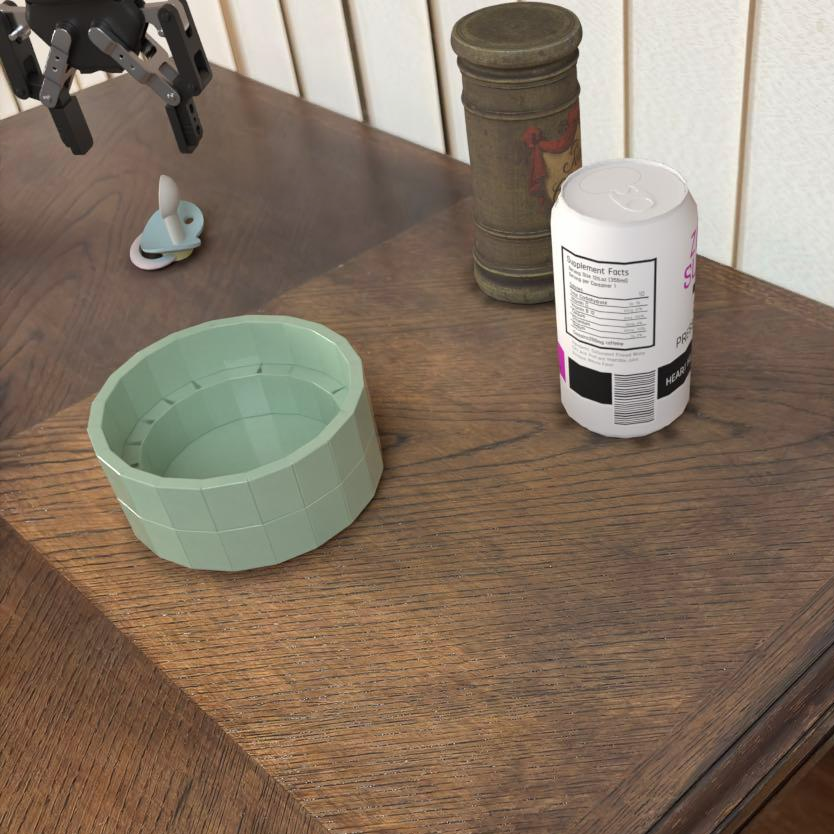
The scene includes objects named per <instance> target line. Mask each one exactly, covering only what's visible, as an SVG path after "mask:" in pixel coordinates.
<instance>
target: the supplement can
mask: <svg viewBox="0 0 834 834" xmlns="http://www.w3.org/2000/svg"><path fill="white" fill-rule="evenodd" d="M688 187H689V186H688V180H687V179H686V177H684V176H683V174H682V173H681V172H680V171H679V170H678V169H676V168H674V167H672V166H670V165H667V164H666V163H664V162H660V161H656V160H651V159H648V158H636V157H635V158H634V157H617V158H611V159H602V160H599V161H596V162H593V163H588V164H586V165H582V167H581V168H580V169H578V170H576V171H575V172H573V173H571V174H570V175H569V176H568V177H567V178H566V180H565V181H564V182H563V184H562V185H561V192H560V194H559V196H558V198H557V200H556V202H555V204H554V206H553V208H552V213H551V236H552V252H553V269H554V285H555V300H554V303H555V315H556V316H555V317H556V318H555V319H556V331H557V333H556V334H557V351H558V364H559V366H558V369H559V382H560V383H559V384H560V399H561V404H562V406H563V408H564V409H565V412H566V413H567V416H569V417H570V418H571V419H573V420H574V421H575V422H576V423H577V424H579V425H580V426H581V427H583V428H586V429H587V430H588V431H591V432H592V433H596V434H599V435H601V436H603V437H609V438H620V439H630V438H636V437H637V438H638V437H644V436H647V435H650V434H653V433H655V432H658V431H661V430H662V429H663V428H666V427H667V426H669V425H670V424H671V423H673V422H674V421H676V419H677V418H678V417H680V416H682V414H683V413H684V411H685V409H686V407H687V405H688V403H689V401H690V391H691V373H692V372H691V370H692V354H693V353H692V352H693V333H694V332H693V331H694V310H695V293H696V291H695V289H696V275H697V273H696V272H697V271H696V270H697V255H698V254H697V251H698V232H699V211H698V205H697V202H696V201H695V198H694V197H693V195H692V193H691V191H690V190H689V188H688Z"/></svg>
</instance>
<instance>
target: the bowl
mask: <svg viewBox="0 0 834 834" xmlns="http://www.w3.org/2000/svg"><path fill="white" fill-rule="evenodd" d="M89 411H90V412H89V417H88V424H87V429H86V431H87V435H88V437H89V440H90V443H91V445H92V448H93V450H94V453H95V456H96V458H97V460H98V462H99V465H100V466H101V468H102V470H103V473H104V474H105V476H106V479H107V481H108V482H109V484H110V486H111V489H112V491H113V493H114V495H115V497H116V499H117V501H118V503H119V505H120V507H121V509H122V511H123V513H124V515H125V517H126V519H127V521H128V523H129V525H130V528H131V530H132V531H133V534H134V536H135V537H136V538H137V539H138V540H139V541H140V542H141V543H142V544H144V545H145V546H146V547H147V548H148V549H149V550H150V551H151V552H153V553H154V554H155V555H156V556H157V557H159V558H161V559H163V560H166V561H168V562H171V563H174V564H176V565H180V566H182V567H184V568H188V569H191V570H201V571H216V572H217V571H219V572H233V573H234V572H240V571H246V570H253V569H258V568H265V567H269V566H275V565H276V566H277V565H279V564H282V563H285V562H286V561H289V560H291V559H295V558H297V557H299V556H301V555H304V554H306V553H308V552H311V551H314V550H317V549H318V548H320V547H321V546H322V545H324V544H325V543H327V542H328V541H329V540H331V539H333V538H334V537H335V536H336V535H338V534H339V533H341V532H342V531H343V530H345V529H346V528H348V527H349V526H351V524H353V523H354V522H355V521H356V519H357V518H358V517H359V515H360V514H361V512H363V510H365V508H366V507H367V506H368V504H369V503H370V502H371V501H372V500H373V498H374V496H375V494H376V491H377V488H378V485H379V483H380V480H381V477H382V475H383V471H384V461H383V460H384V459H383V452H382V451H383V450H382V444H381V443H382V442H381V439H380V434H379V430H378V429H379V428H378V426H377V421H376V417H375V412H374V408H373V404H372V398H371V395H370V390H369V386H368V381H367V377H366V373H365V368H364V363H363V361H362V358H361V357H360V356H359V354H358V353H357V351H356V350H355V348H354V347H353V346H352V345H351V343H350V341H349V340H348V339H347V338H346V337H344V336H342V335H341V334H339V333H338V332H335V331H334V330H332V329H331V328H329V327H327V326H326V325H324V324H322V323H319V322H316V321H311V320H307V319H304V318H300V317H295V316H291V315H283V314H282V315H281V314H280V315H279V314H276V315H275V314H245V315H237V316H230V317H225V318H218V319H212V320H208V321H206V322H202V323H199V324H196V325H193V326H190V327H187V328H185V329H181V330H178V331H175V332H171V333H170V334H168V335H167V336H165V337H163V338H161V339H159V340H157V341H155V342H154V343H152V344H150V345H147V347H144V348H142V349H141V350H139V351H137V352H136V353H134V355H132V356H131V357H130V358H128V359H127V360H126V361H125V362H124V363H123V364H122V365H120V366H119V367H118V368H117V369H116V370H115V371H114V372H112V373H111V374H110V375H109V377H108V378H107V379H106V380H105V383H104V384H103V385H102V387H101V389H100V390H99V392H98V393H97V395H96V396H95V398H94V399H93V401H92V403H91V405H90V410H89Z"/></svg>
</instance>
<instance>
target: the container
mask: <svg viewBox="0 0 834 834" xmlns="http://www.w3.org/2000/svg"><path fill="white" fill-rule="evenodd" d="M583 32H584V31H583V26H582V23H581V20H580V18H579V17H578V15H577V14H576V13H574V12H573V11H572V10H570V9H569V8H567V7H564V6H560V5H558V4H554V3H549V2H542V1H511V2H504V3H498V4H493V5H488V6H485V7H482V8H479V9H476V10H474V11H471V12H469V13H467V14H466V15H463V16H462V17H460V18H459V19H458V20H457V21H456V22H455V23H454V25H453V26H452V29H451V31H450V46H451V49H452V51H453V53H454V54H455V55H456V56H457V57H456V65H457V67H458V69H459V73H460V74H461V84H462V89H461V95H460V101H461V104H462V106H463V112H464V113H463V115H464V123H465V130H466V131H465V132H466V142H467V150H468V157H469V166H470V174H471V175H470V176H471V184H472V185H471V186H472V198H473V205H472V219H473V223H474V227H475V228H474V229H475V235H476V236H475V237H476V238H475V240H474V242H473V245H472V256H473V258H474V261H473V262H474V263H473V275H474V278H475V281H476V283H477V285H478V287H479V289H480V290H481V291H482V292H484V294H486V295H488V296H489V297H491V298H492V299H495V300H497V301H502V302H505V303H510V304H511V303H512V304H518V305H530V304H534V305H535V304H542V303H547V302H548V303H549V302H552V301H555V285H554V269H553V252H552V236H551V213H552V208H553V206H554V204H555V202H556V200H557V198H558V196H559V194H560V192H561V185H562V184H563V182H564V181H565V180H566V178H567V177H568V176H569V175H570V174H571V173H573V172H575V171H576V170H578V169H580V168H581V167H583V152H582V150H583V149H582V131H581V130H582V128H581V127H582V125H581V106H580V96H581V95H580V94H581V91H582V90H581V84H580V82H579V79H578V67H577V65H578V60H579V58H580V49H579V46H580V45H581V43H582V40H583V37H584V34H583Z"/></svg>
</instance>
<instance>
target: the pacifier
mask: <svg viewBox="0 0 834 834" xmlns="http://www.w3.org/2000/svg"><path fill="white" fill-rule="evenodd" d="M158 207H159V208H158V209H157V210H156V211H155V212H154V213H153V214H152V215H151V217H150V218H149V220H148V221H147V223H146V224H145V226H144V229H143V231H142V232H141V233H140V234H139V235H138V236H137V237H136V238H135V239H134V241H133V242H132V243H131V246H130V248H129V258H130V260H131V262H132V264H133V265H135V267H137V268H139V269H141V270H145V271H146V270H147V271H149V270H150V271H151V270H158V269H161V268H164V267H166V266H168V265H170V264H171V263H173V262H177V261H178V262H179V261H182V260H184V259H187V258H189V256H191V255H192V253H193V251H194V249H195V248H198V247H200V246H201V245H202V241H201V239H200V238H199V237H200V235H201V234H202V232H203V230H204V227H205V220H204V215H203V212H202V211H201V209H200V208H199V207H198V206H197V205H196V204H194V203H192V202H191V201H187V200H181V194H180V190H179V187H178V185H177V183H176V182H175V180H174V179H173V178H172V177H170V176H169V175H165V174H161V175H160V177H159V181H158ZM189 219H193V220H192V222H190V223H186V221H187V220H189ZM142 252H144V253H149V254H161V255H162V256H161V257H158V258H146V257H144V256H143V255H142Z"/></svg>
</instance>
